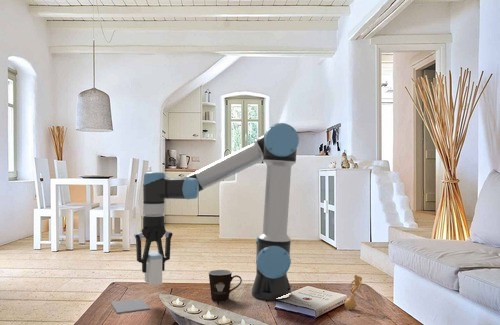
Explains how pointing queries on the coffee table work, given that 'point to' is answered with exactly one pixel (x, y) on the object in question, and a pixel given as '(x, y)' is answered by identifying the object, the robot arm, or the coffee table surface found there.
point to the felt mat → (129, 305)
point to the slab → (155, 268)
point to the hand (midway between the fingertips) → (153, 280)
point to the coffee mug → (221, 284)
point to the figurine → (350, 302)
